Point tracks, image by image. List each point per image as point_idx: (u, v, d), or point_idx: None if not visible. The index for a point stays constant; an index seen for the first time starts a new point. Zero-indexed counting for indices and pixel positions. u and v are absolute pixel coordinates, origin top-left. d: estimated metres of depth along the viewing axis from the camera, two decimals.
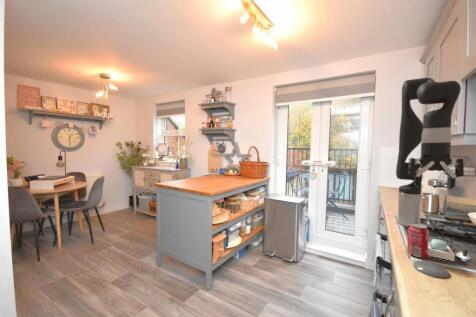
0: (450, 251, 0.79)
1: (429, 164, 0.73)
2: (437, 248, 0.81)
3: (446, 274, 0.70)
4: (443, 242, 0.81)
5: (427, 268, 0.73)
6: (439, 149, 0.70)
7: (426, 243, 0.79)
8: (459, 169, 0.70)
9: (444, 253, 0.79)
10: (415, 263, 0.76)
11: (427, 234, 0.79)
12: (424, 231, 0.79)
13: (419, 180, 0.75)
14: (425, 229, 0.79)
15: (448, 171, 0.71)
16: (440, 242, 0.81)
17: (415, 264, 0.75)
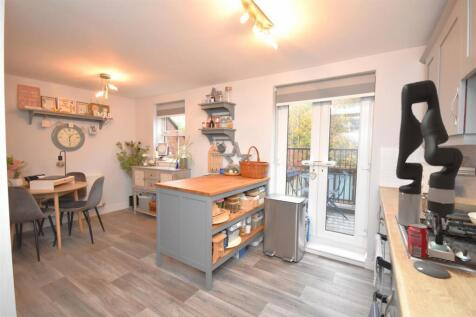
0: (450, 251, 0.79)
1: None
2: None
3: (446, 274, 0.70)
4: (443, 244, 0.81)
5: (427, 268, 0.73)
6: None
7: (426, 243, 0.79)
8: None
9: (444, 253, 0.79)
10: (415, 263, 0.76)
11: (427, 234, 0.79)
12: (424, 231, 0.79)
13: (443, 238, 0.81)
14: (425, 229, 0.79)
15: None
16: None
17: (415, 264, 0.75)
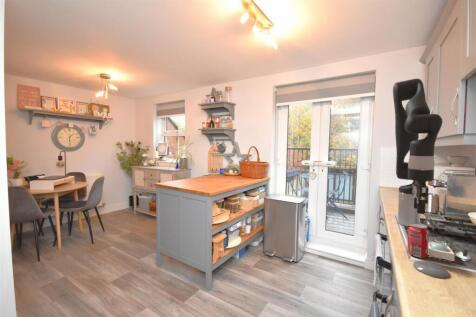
0: (450, 251, 0.79)
1: None
2: None
3: (446, 274, 0.70)
4: (443, 246, 0.81)
5: (427, 268, 0.73)
6: (433, 175, 0.78)
7: (426, 243, 0.79)
8: None
9: (444, 253, 0.79)
10: (415, 263, 0.76)
11: (427, 234, 0.79)
12: (424, 231, 0.79)
13: None
14: (425, 229, 0.79)
15: None
16: (440, 246, 0.81)
17: (415, 264, 0.75)
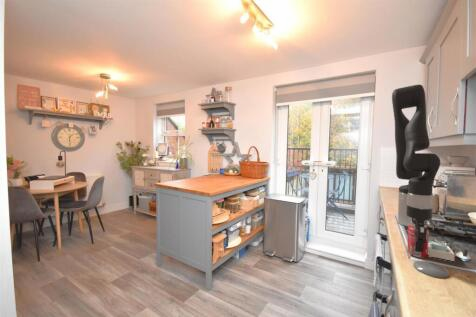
0: (450, 251, 0.79)
1: None
2: None
3: (446, 274, 0.70)
4: (443, 246, 0.81)
5: (427, 268, 0.73)
6: None
7: (426, 243, 0.79)
8: None
9: (444, 253, 0.79)
10: (415, 263, 0.76)
11: (427, 234, 0.79)
12: None
13: (423, 245, 0.79)
14: None
15: None
16: (440, 246, 0.81)
17: (415, 264, 0.75)
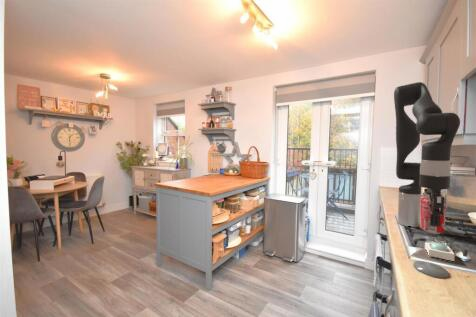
0: (450, 251, 0.79)
1: None
2: None
3: (446, 274, 0.70)
4: (443, 246, 0.81)
5: (427, 268, 0.73)
6: None
7: (443, 216, 0.69)
8: None
9: (444, 253, 0.79)
10: (415, 263, 0.76)
11: (444, 206, 0.69)
12: None
13: (439, 218, 0.68)
14: None
15: None
16: (440, 246, 0.81)
17: (415, 264, 0.75)
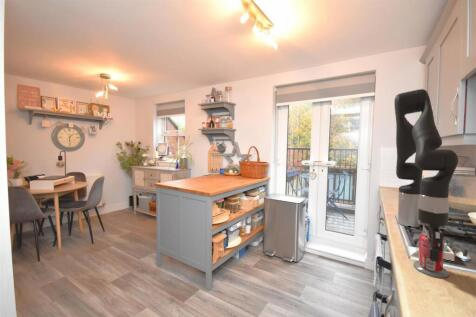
0: (450, 251, 0.79)
1: None
2: None
3: (446, 274, 0.70)
4: None
5: None
6: None
7: (441, 255, 0.70)
8: None
9: (444, 253, 0.79)
10: (415, 263, 0.76)
11: None
12: None
13: None
14: None
15: None
16: None
17: (415, 264, 0.75)
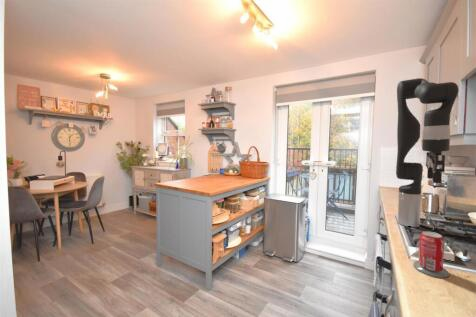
0: (450, 251, 0.79)
1: None
2: None
3: (446, 274, 0.70)
4: None
5: None
6: None
7: (441, 255, 0.70)
8: None
9: (444, 253, 0.79)
10: (415, 263, 0.76)
11: (442, 244, 0.70)
12: (439, 241, 0.70)
13: None
14: (440, 239, 0.70)
15: None
16: None
17: (415, 264, 0.75)
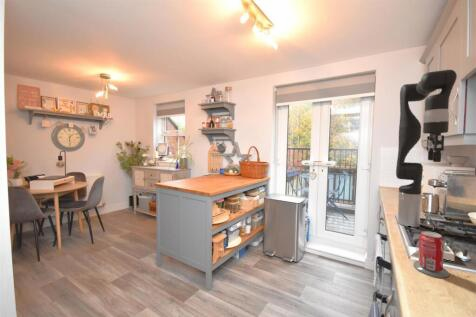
0: (450, 251, 0.79)
1: None
2: None
3: (446, 274, 0.70)
4: None
5: None
6: None
7: (441, 255, 0.70)
8: None
9: (444, 253, 0.79)
10: (415, 263, 0.76)
11: (442, 244, 0.70)
12: (439, 241, 0.70)
13: (440, 155, 0.83)
14: (440, 239, 0.70)
15: None
16: None
17: (415, 264, 0.75)
